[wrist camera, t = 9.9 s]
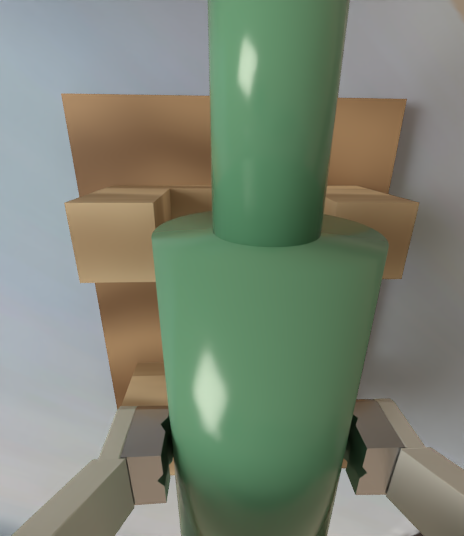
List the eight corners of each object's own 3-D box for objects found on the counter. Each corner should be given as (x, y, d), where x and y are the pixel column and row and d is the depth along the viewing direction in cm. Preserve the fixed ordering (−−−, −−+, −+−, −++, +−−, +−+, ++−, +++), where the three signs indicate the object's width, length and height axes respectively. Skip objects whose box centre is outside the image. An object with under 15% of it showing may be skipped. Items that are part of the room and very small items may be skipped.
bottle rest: (335, 420, 24) (375, 512, 18) (127, 427, 23) (96, 526, 17) (393, 102, 15) (504, 73, 9) (73, 97, 15) (-26, 63, 9)
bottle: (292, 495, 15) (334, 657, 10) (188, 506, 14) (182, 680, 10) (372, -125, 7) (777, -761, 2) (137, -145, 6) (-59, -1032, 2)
